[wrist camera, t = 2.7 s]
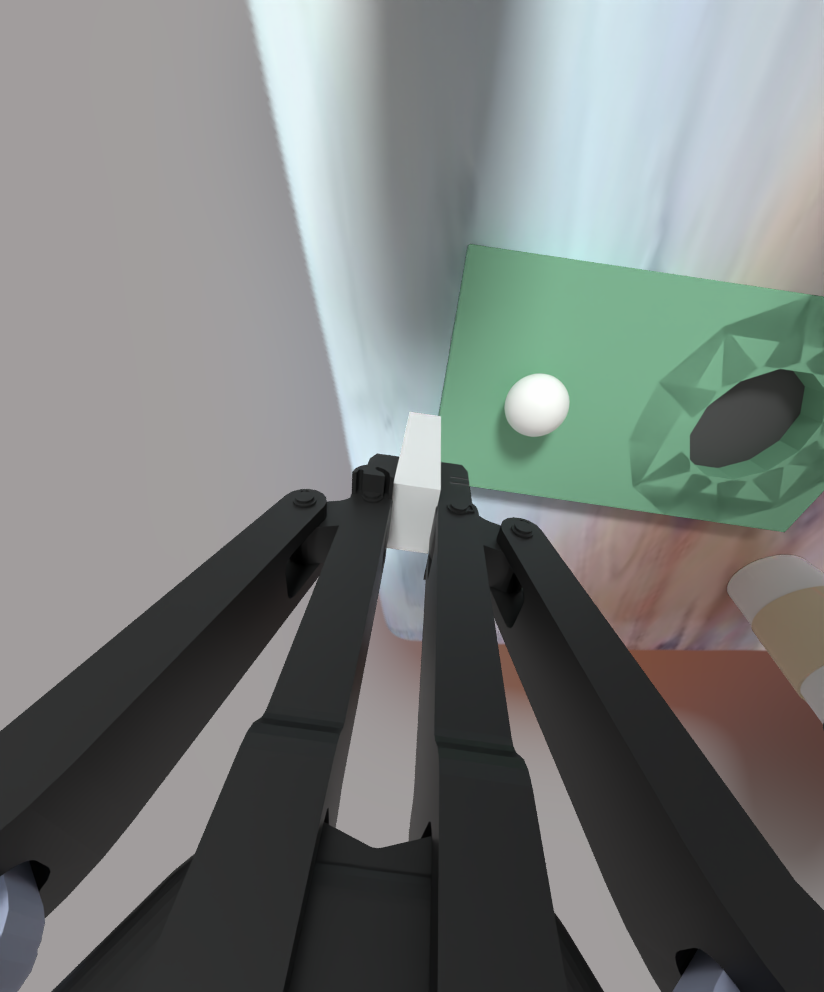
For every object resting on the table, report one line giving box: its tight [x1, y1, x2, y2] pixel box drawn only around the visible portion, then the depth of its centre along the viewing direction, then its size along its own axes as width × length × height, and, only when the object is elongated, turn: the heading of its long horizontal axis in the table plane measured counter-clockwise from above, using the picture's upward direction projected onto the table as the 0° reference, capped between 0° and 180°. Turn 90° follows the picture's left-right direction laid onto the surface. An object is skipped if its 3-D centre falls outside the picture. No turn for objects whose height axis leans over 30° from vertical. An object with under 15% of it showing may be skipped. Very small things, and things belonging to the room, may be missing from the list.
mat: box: [438, 244, 824, 532], centre depth 25 cm, size 16×30×2 cm, turn 83°
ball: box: [504, 373, 570, 437], centre depth 23 cm, size 4×4×4 cm
